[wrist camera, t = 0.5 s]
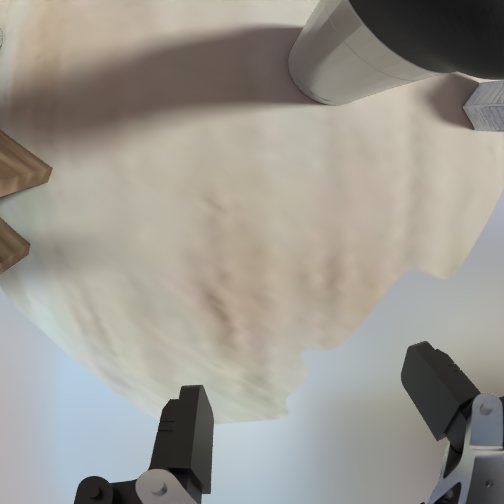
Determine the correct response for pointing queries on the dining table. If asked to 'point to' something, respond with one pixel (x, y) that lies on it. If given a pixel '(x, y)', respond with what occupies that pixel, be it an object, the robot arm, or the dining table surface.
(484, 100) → the medicine box
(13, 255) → the shelf unit
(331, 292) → the dining table surface
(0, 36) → the sea urchin shell
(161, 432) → the robot arm
